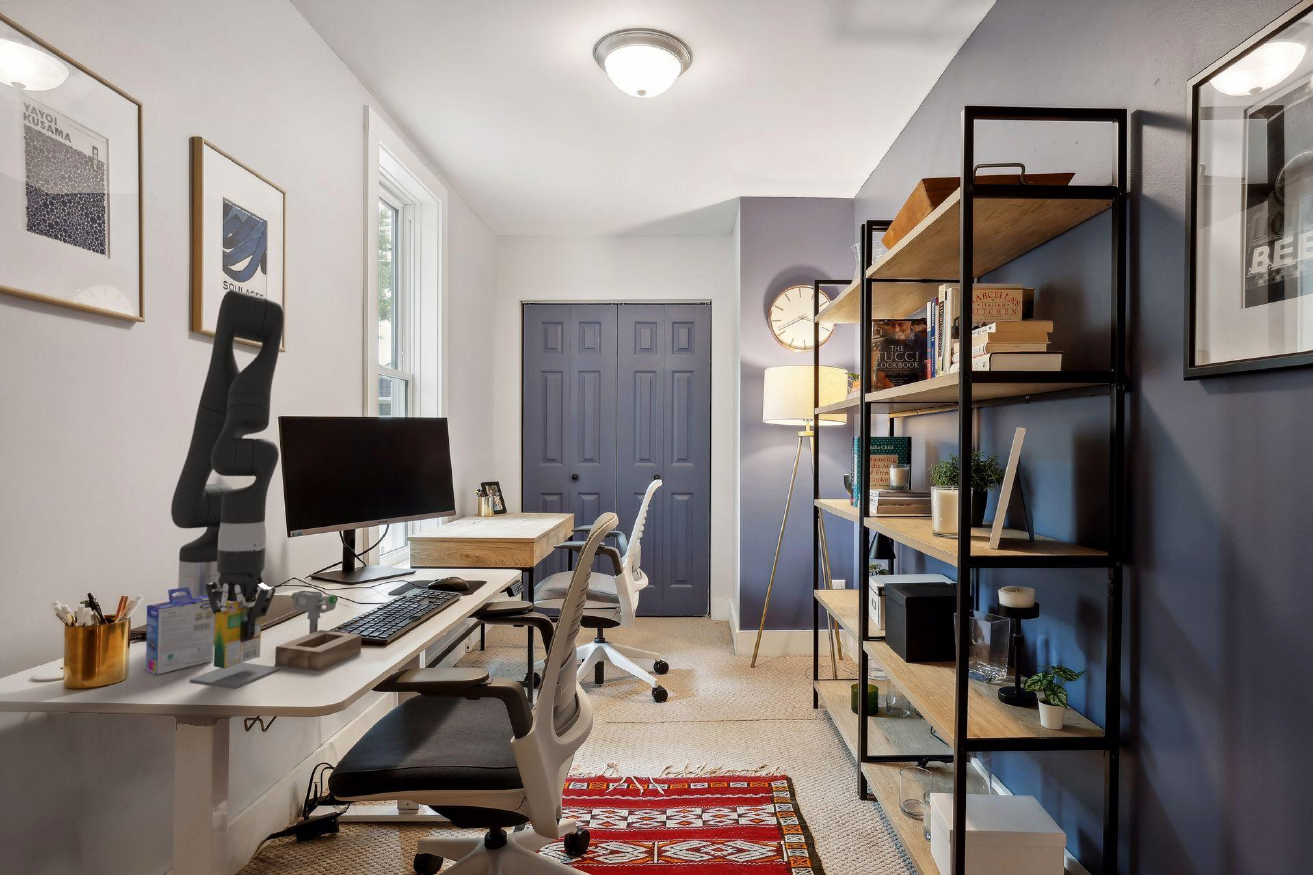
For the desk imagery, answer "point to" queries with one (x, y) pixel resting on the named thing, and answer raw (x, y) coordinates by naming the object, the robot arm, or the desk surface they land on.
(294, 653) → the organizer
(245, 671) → the mat
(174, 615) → the ink cartridge box
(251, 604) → the robot arm
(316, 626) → the mechanical component
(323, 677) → the desk surface
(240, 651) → the crayon box
